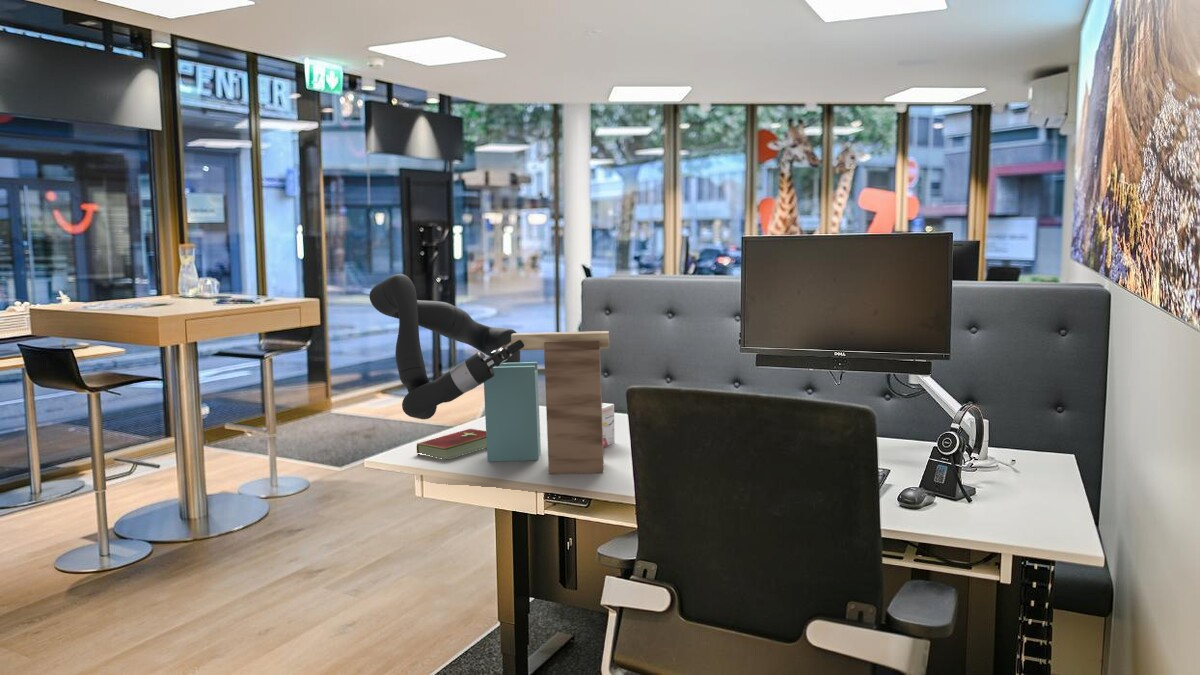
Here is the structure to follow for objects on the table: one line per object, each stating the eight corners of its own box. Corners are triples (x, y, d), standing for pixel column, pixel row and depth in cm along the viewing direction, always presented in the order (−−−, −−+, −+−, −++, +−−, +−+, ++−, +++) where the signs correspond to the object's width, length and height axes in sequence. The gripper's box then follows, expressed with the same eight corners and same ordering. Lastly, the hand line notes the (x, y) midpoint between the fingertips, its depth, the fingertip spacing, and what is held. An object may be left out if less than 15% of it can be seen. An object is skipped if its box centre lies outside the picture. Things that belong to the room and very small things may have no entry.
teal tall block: (491, 453, 245) (487, 363, 241) (540, 452, 244) (537, 362, 241) (487, 461, 237) (483, 367, 233) (538, 460, 236) (534, 366, 233)
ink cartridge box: (600, 449, 246) (599, 398, 244) (586, 447, 248) (584, 397, 247) (615, 442, 253) (614, 393, 251) (601, 441, 256) (599, 392, 254)
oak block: (514, 348, 226) (513, 333, 225) (609, 346, 224) (608, 331, 224) (511, 350, 222) (511, 335, 221) (608, 348, 220) (608, 332, 220)
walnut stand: (551, 463, 232) (547, 338, 228) (603, 462, 232) (599, 337, 228) (548, 474, 222) (543, 343, 218) (603, 472, 222) (599, 342, 218)
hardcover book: (417, 456, 246) (416, 442, 245) (469, 440, 263) (469, 427, 262) (446, 462, 239) (445, 447, 238) (498, 445, 255) (497, 432, 255)
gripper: (459, 364, 217) (513, 331, 216) (469, 356, 231) (520, 324, 230) (475, 389, 218) (529, 356, 216) (484, 379, 232) (535, 348, 231)
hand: (524, 340), depth 223 cm, fingers open, 8 cm apart
